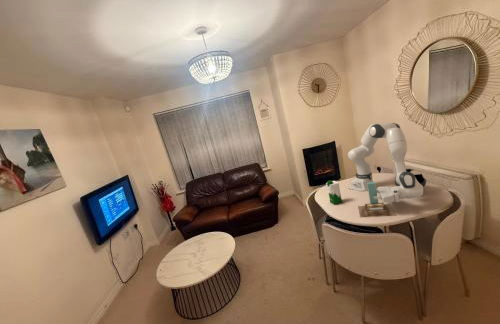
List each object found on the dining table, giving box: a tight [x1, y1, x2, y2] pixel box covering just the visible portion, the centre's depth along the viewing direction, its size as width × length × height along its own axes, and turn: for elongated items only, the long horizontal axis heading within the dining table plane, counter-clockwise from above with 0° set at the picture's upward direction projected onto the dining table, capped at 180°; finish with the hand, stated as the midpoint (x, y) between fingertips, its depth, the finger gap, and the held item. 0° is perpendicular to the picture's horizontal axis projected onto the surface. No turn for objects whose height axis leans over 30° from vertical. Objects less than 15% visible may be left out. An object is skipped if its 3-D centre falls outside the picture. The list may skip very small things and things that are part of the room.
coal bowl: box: [394, 168, 427, 189], centre depth 171 cm, size 20×20×19 cm
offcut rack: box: [357, 202, 398, 218], centre depth 157 cm, size 22×18×4 cm
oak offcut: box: [367, 203, 384, 209], centre depth 156 cm, size 10×2×5 cm, turn 68°
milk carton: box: [325, 180, 343, 206], centre depth 186 cm, size 9×9×20 cm
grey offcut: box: [370, 207, 383, 211], centre depth 153 cm, size 8×2×4 cm, turn 68°
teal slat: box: [367, 181, 380, 204], centre depth 158 cm, size 5×2×20 cm, turn 68°
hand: (372, 194), depth 158 cm, fingers open, 8 cm apart
